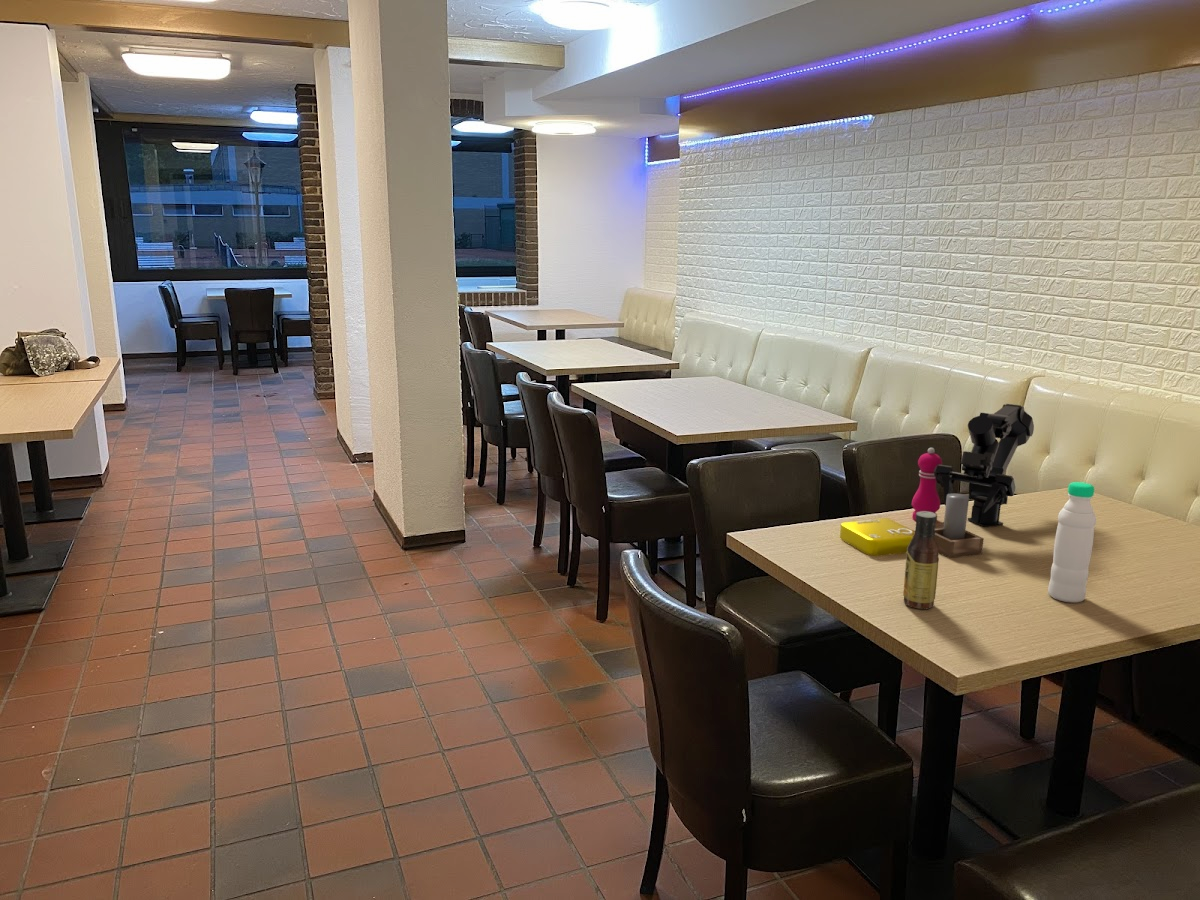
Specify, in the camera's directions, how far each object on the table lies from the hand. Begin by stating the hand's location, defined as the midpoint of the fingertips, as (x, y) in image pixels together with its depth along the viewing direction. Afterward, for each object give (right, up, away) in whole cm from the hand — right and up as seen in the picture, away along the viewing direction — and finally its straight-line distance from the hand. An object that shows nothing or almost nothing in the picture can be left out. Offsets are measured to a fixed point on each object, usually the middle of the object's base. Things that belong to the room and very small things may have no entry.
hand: (964, 508), depth 223 cm
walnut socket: (-4, -10, -3) cm, 11 cm away
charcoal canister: (-4, -9, -3) cm, 10 cm away
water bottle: (+9, -17, -31) cm, 37 cm away
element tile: (-21, -9, +1) cm, 23 cm away
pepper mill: (-3, -5, +20) cm, 21 cm away
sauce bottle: (-24, -18, -36) cm, 47 cm away
